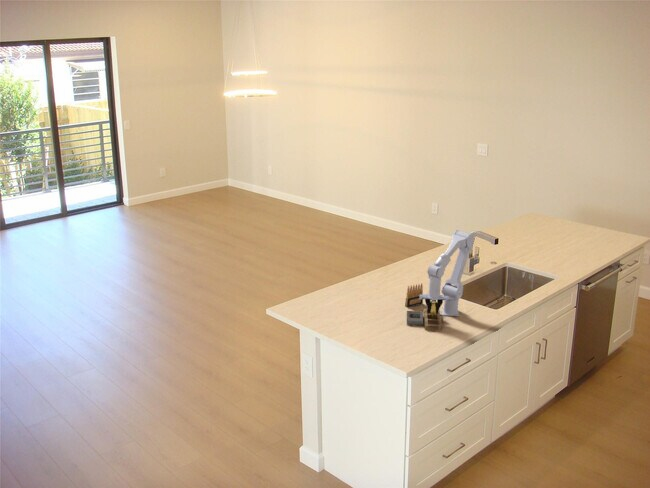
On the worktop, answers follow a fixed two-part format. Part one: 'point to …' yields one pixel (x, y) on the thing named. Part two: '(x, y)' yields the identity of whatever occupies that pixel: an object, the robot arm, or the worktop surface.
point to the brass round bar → (433, 310)
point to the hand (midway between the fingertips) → (432, 312)
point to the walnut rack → (432, 321)
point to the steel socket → (414, 318)
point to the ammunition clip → (414, 296)
